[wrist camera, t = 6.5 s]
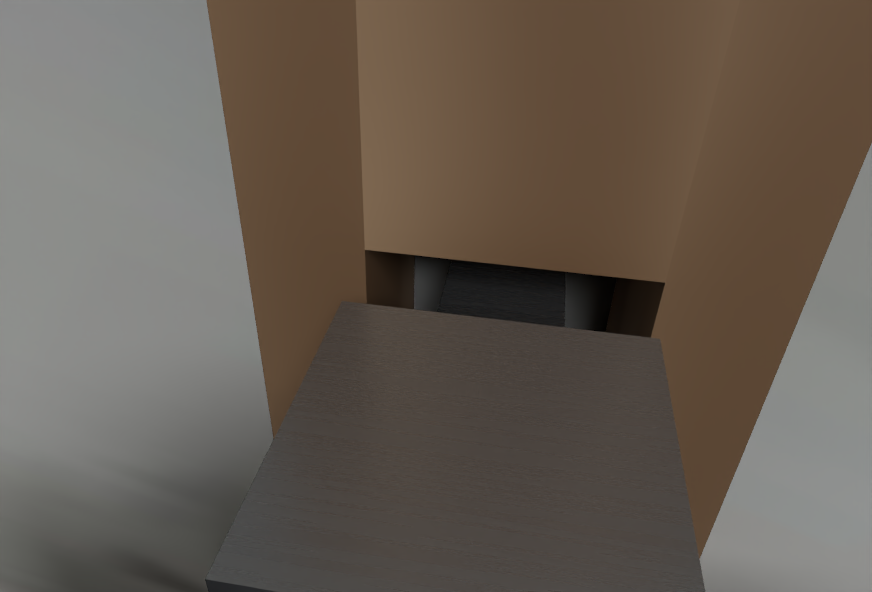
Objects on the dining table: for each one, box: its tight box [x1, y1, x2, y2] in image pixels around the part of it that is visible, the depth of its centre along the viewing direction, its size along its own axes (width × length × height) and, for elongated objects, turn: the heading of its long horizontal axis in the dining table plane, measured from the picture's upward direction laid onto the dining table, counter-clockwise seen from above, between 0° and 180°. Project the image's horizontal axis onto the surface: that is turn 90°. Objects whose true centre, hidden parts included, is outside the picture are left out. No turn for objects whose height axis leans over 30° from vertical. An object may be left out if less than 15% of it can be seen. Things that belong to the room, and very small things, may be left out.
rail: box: [207, 0, 872, 559], centre depth 11 cm, size 6×22×3 cm, turn 178°
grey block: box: [205, 259, 705, 592], centre depth 9 cm, size 3×8×6 cm, turn 178°
